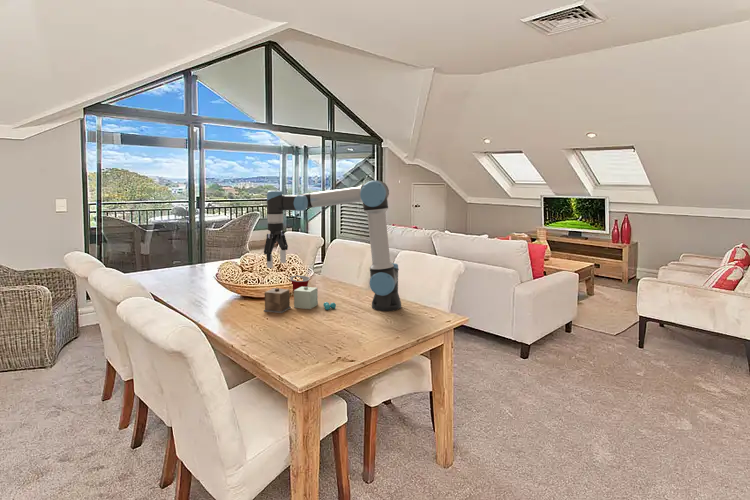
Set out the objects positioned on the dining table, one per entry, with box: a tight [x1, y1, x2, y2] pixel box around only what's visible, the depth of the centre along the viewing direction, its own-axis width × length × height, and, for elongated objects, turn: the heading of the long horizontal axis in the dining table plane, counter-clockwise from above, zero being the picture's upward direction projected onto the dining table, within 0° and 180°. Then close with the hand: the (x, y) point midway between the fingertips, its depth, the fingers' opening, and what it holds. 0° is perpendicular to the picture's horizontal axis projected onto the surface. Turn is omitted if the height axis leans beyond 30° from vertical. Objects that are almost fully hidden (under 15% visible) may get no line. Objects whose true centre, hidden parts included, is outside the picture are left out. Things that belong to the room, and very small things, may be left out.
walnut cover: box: [264, 287, 291, 311], centre depth 238 cm, size 9×9×10 cm
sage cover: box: [293, 286, 319, 310], centre depth 245 cm, size 9×9×10 cm
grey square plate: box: [263, 305, 292, 314], centre depth 239 cm, size 10×10×1 cm
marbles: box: [323, 301, 337, 311], centre depth 242 cm, size 18×6×3 cm, turn 73°
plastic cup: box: [289, 275, 311, 294], centre depth 258 cm, size 11×11×12 cm
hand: (276, 265), depth 235 cm, fingers open, 13 cm apart
